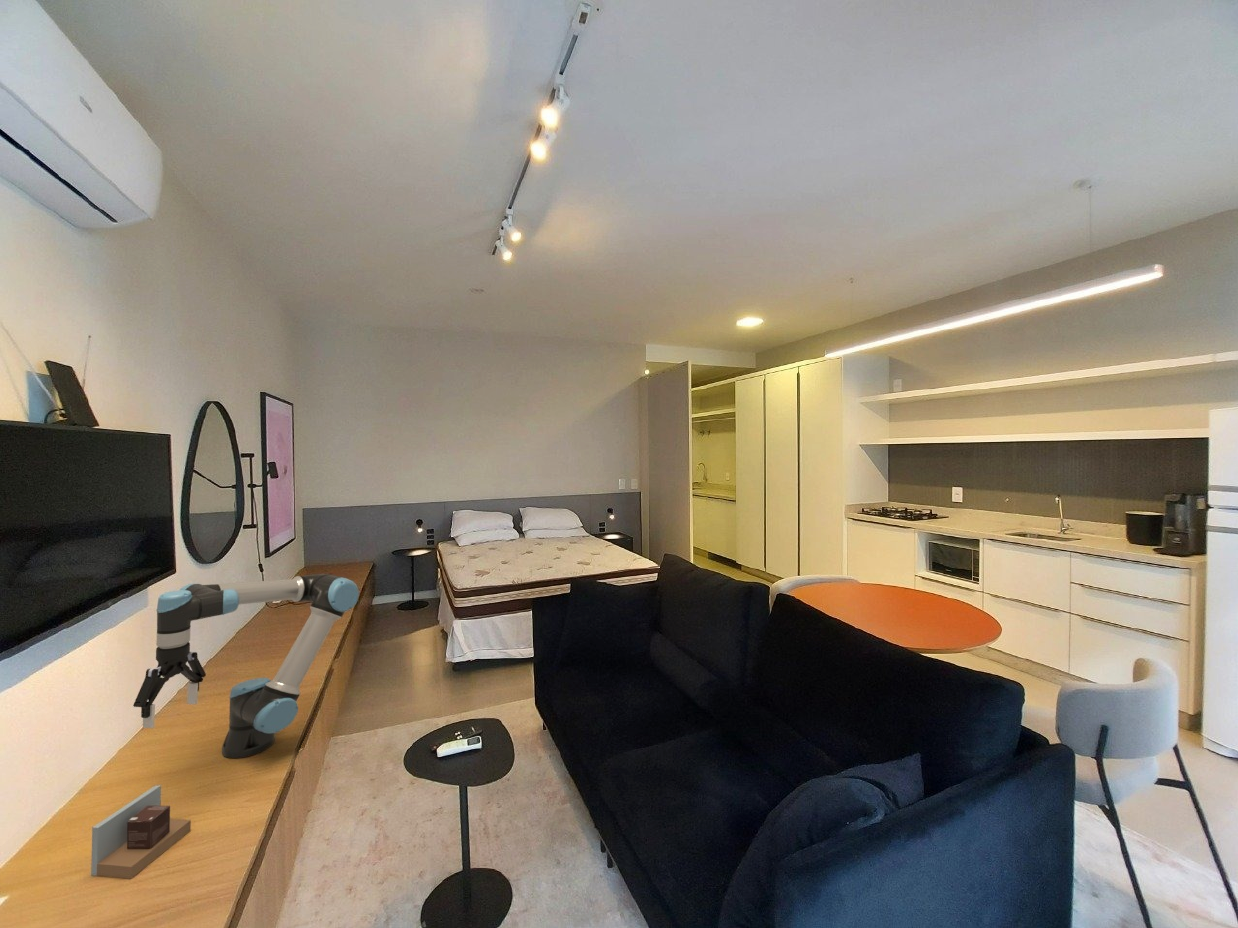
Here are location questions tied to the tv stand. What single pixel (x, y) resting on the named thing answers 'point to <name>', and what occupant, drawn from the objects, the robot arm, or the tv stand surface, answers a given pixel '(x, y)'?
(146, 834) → the box
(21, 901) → the tv stand surface
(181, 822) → the board
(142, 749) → the tv stand surface
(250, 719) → the robot arm
